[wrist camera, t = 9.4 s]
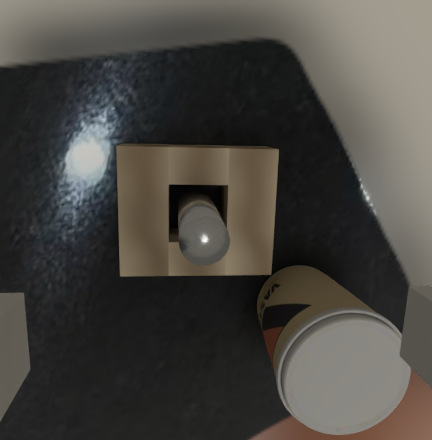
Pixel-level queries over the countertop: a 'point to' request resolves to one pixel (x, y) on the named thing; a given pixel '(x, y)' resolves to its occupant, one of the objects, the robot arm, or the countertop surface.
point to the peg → (201, 228)
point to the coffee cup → (330, 352)
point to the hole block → (195, 175)
